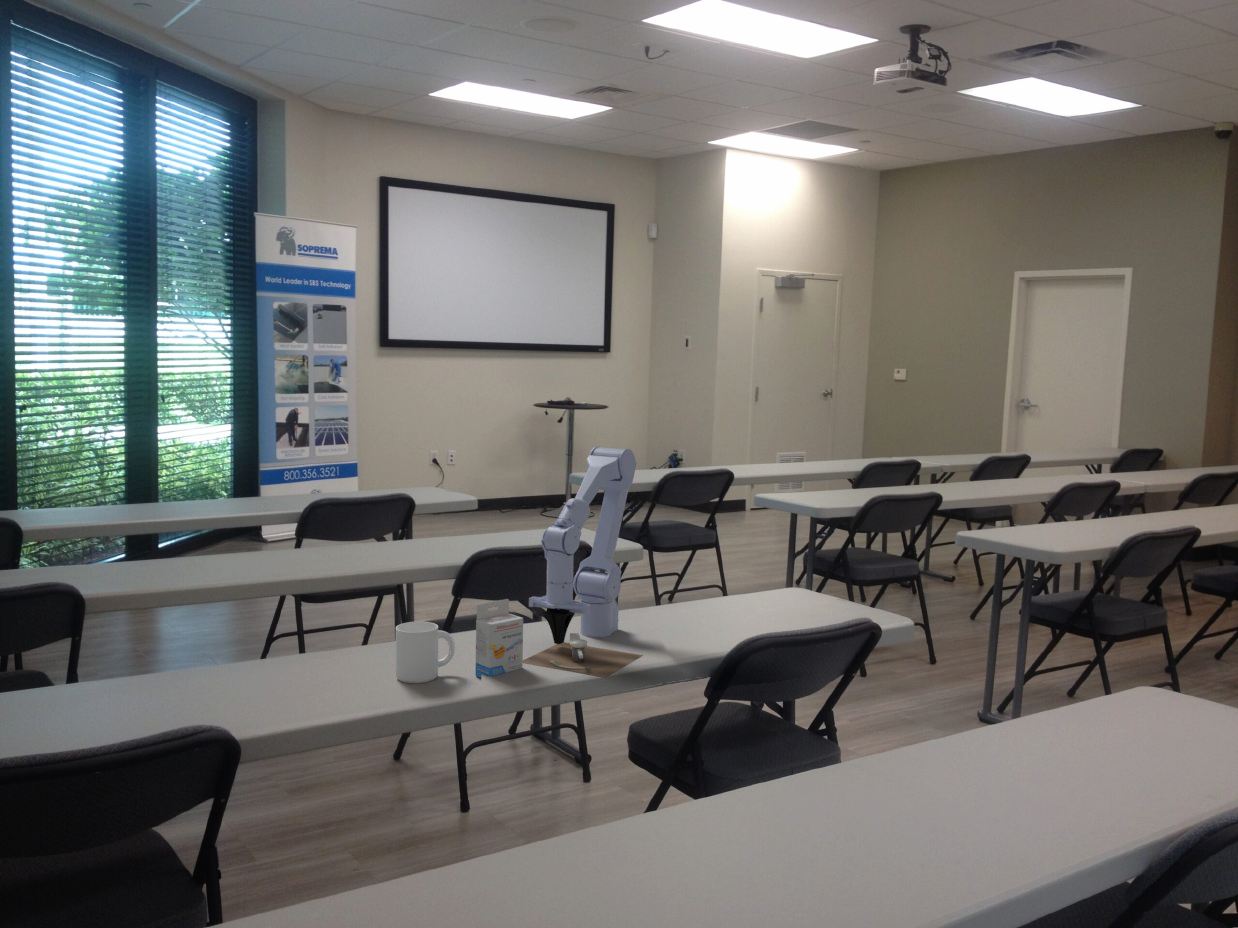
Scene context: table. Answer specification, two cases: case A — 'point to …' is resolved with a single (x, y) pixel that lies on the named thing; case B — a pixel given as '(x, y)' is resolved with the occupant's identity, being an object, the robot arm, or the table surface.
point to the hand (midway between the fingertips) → (559, 642)
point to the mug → (420, 651)
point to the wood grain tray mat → (593, 664)
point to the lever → (577, 647)
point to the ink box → (498, 639)
